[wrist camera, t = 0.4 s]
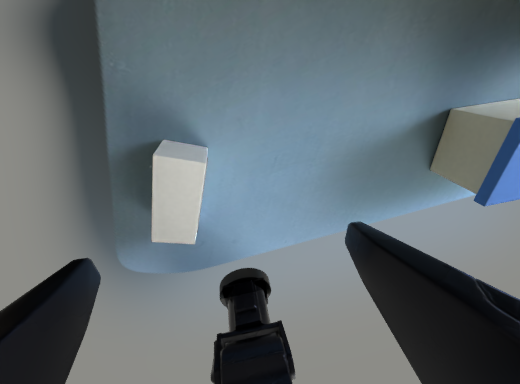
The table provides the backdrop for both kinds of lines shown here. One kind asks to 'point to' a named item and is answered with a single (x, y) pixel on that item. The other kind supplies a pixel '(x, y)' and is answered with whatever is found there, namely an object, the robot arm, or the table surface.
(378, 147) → the table surface
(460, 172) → the container
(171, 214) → the block
